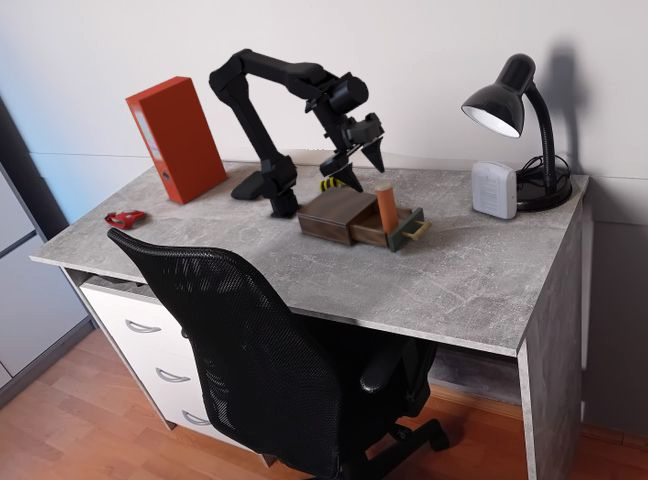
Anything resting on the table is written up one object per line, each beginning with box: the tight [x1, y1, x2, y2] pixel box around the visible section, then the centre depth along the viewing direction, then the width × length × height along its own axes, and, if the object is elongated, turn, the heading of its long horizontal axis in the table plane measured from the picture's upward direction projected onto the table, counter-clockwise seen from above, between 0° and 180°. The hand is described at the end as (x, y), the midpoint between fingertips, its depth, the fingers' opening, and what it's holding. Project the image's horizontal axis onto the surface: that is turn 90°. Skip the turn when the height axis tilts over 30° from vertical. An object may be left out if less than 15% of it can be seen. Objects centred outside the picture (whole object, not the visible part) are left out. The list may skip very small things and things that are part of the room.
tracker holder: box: [102, 209, 146, 230], centre depth 159 cm, size 12×4×10 cm
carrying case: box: [230, 170, 265, 202], centre depth 159 cm, size 11×3×15 cm
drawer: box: [348, 202, 433, 254], centre depth 123 cm, size 19×12×4 cm, turn 51°
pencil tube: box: [374, 178, 399, 234], centre depth 120 cm, size 4×4×12 cm
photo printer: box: [470, 160, 518, 220], centre depth 121 cm, size 10×4×12 cm, turn 42°
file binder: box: [124, 75, 228, 205], centre depth 160 cm, size 8×17×32 cm, turn 138°
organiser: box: [295, 186, 378, 247], centre depth 132 cm, size 16×14×6 cm
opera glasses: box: [318, 177, 347, 194], centre depth 150 cm, size 10×5×5 cm, turn 149°
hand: (372, 182), depth 122 cm, fingers open, 9 cm apart
